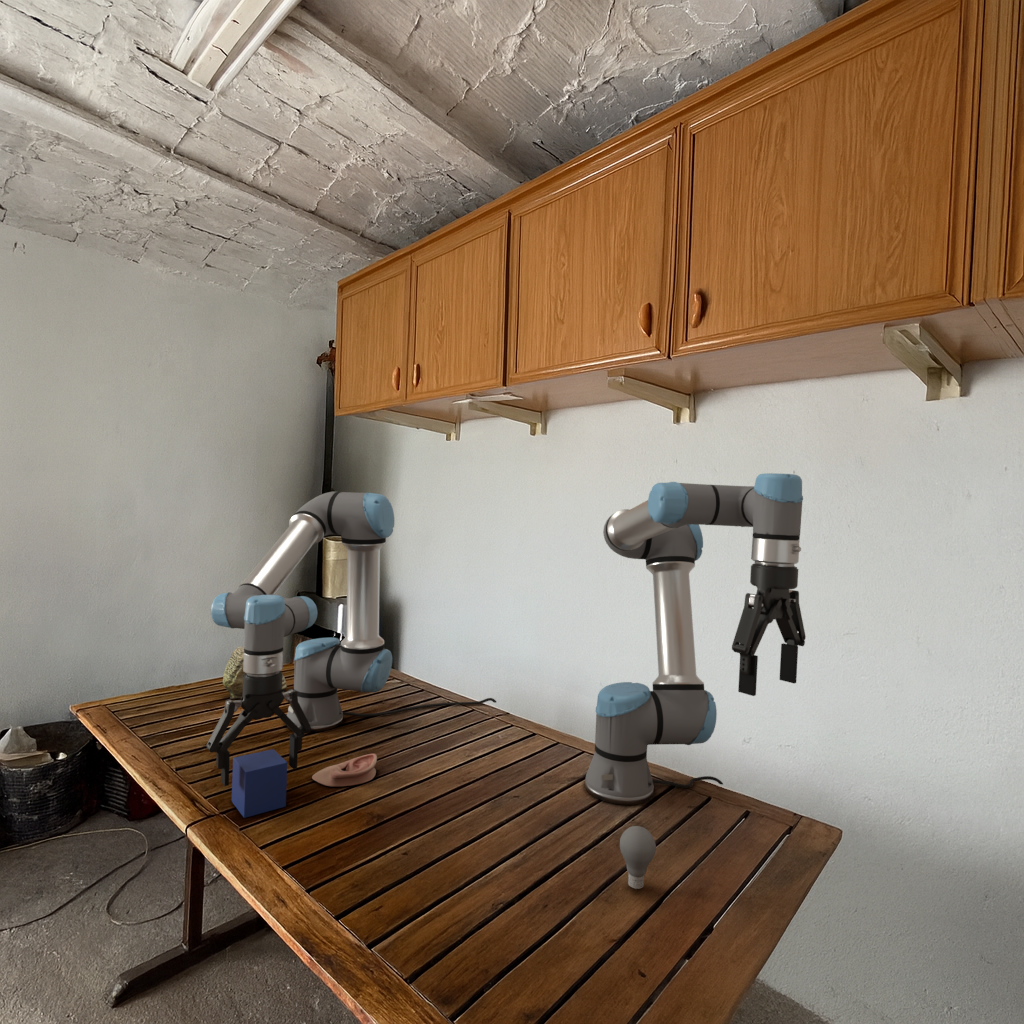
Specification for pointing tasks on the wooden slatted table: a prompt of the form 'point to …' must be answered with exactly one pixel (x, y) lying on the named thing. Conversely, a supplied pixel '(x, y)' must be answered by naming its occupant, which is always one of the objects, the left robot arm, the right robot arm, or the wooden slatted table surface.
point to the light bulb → (637, 853)
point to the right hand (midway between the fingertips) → (768, 687)
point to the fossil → (238, 674)
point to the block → (259, 782)
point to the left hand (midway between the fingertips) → (260, 774)
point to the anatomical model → (348, 772)
